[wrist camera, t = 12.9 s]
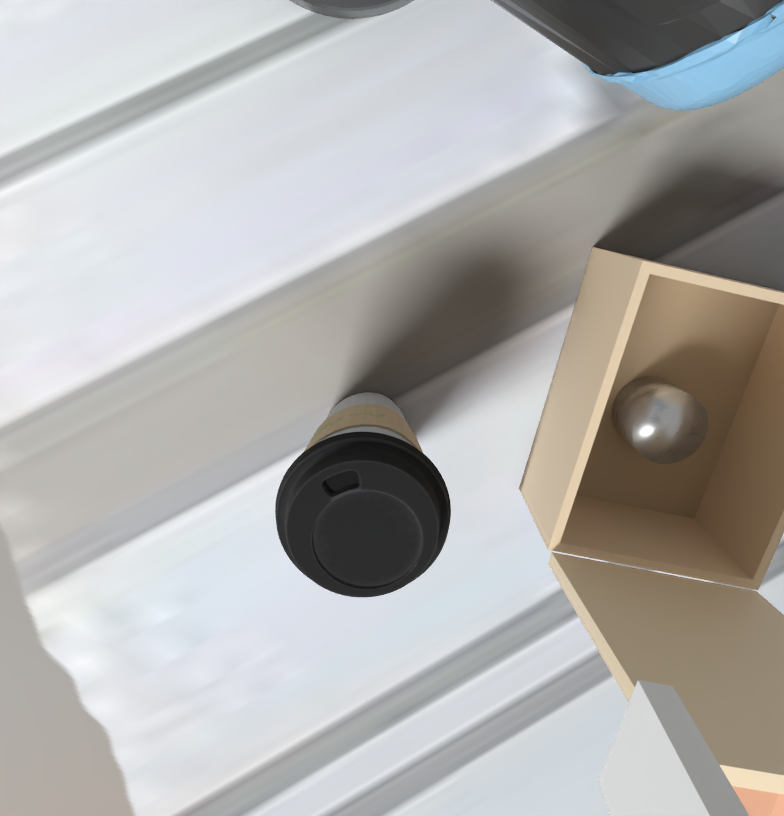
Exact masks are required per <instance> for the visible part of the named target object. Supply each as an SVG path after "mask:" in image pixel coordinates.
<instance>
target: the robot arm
mask: <svg viewBox="0 0 784 816" xmlns="http://www.w3.org/2000/svg"><path fill="white" fill-rule="evenodd" d="M290 1H292V2H293V3H295V4H297V5H299V6H301V7H303V8H305V9H308V10H310V11H313V12H316V13H319V14H322V15H326V16H331V17H337V18H350V19H354V18H367V17H373V16H378V15H382V14H385V13H388V12H391V11H394V10H396V9H399V8H401V7H403V6H405V5H407V4H408V3H410V2H412V1H413V0H290ZM491 1H493V2H494V3H496V4H497V5H499V6H500V7H502V8H503V9H505V10H506V11H508V12H509V13H511V14H512V15H513V16H515V17H516V18H518V19H519V20H521V21H522V22H524V23H525V24H527V25H528V26H530V27H531V28H533V29H534V30H536V31H537V32H538V33H540V34H541V35H543V36H544V37H546V38H547V39H549V40H550V41H552V42H553V43H555V44H556V45H558V46H559V47H561V48H562V49H564V50H565V51H566V52H568V53H569V54H571V55H572V56H574V57H575V58H577V59H578V60H580V61H581V62H583V64H584V65H585V67H586V68H587V69H588V70H589V71H590V72H591V73H592V74H593V75H595V76H596V77H601V78H602V79H603V80H605V81H608V82H613V83H619V84H620V85H622V86H624V87H626V88H627V89H629V90H631V91H632V92H634V93H636V94H637V95H639V96H641V97H642V98H644V99H646V100H647V101H649V102H651V103H652V104H655V105H657V106H660V107H663V108H667V109H672V110H692V109H699V108H704V107H708V106H712V105H715V104H718V103H721V102H723V101H726V100H728V99H731V98H733V97H735V96H737V95H739V94H741V93H743V92H745V91H747V90H749V89H751V88H752V87H754V86H756V85H758V84H759V83H761V82H763V81H764V80H766V79H767V78H769V77H771V76H772V75H774V74H775V73H777V72H778V71H780V70H781V69H783V68H784V0H491ZM597 782H598V785H599V788H600V790H601V793H602V796H603V799H604V801H605V804H606V807H607V809H608V812H609V815H610V816H749V814H748V812H747V811H746V809H745V807H744V806H743V804H742V802H741V801H740V799H739V797H738V796H737V794H736V792H735V790H734V789H733V787H732V785H731V784H730V782H729V780H728V779H727V777H726V775H725V774H724V772H723V770H722V768H721V767H720V765H719V763H718V762H717V760H716V758H715V757H714V755H713V753H712V752H711V750H710V748H709V746H708V745H707V743H706V741H705V740H704V738H703V736H702V735H701V733H700V731H699V730H698V728H697V726H696V725H695V723H694V721H693V719H692V718H691V716H690V714H689V713H688V711H687V709H686V708H685V706H684V704H683V703H682V701H681V699H680V697H679V696H678V694H677V692H676V691H675V689H674V687H673V686H670V685H664V684H658V683H653V682H647V681H642V680H638V681H637V684H636V686H635V689H634V691H633V694H632V696H631V699H630V701H629V704H628V706H627V709H626V711H625V714H624V716H623V719H622V721H621V724H620V726H619V729H618V731H617V734H616V736H615V739H614V741H613V744H612V746H611V749H610V751H609V754H608V756H607V759H606V761H605V764H604V766H603V769H602V771H601V774H600V776H599V779H598V781H597Z"/></svg>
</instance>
